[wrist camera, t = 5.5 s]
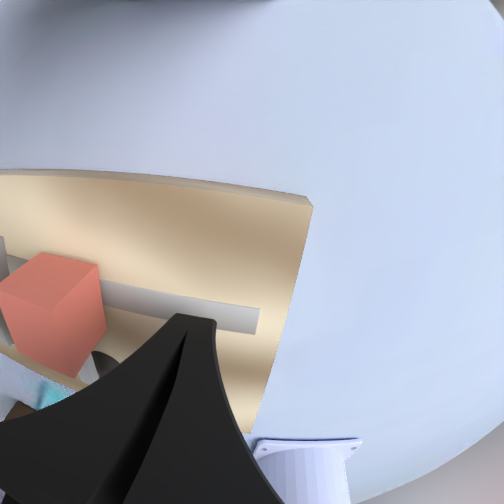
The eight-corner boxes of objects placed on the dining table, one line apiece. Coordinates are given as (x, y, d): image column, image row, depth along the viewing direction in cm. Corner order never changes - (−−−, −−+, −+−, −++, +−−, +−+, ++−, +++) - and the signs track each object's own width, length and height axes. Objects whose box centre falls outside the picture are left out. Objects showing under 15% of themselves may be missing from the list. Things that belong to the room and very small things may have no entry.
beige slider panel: (251, 413, 15) (247, 485, 10) (3, 336, 14) (-30, 374, 10) (306, 196, 10) (343, 251, 5) (-34, 171, 9) (-90, 193, 5)
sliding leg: (120, 385, 12) (99, 431, 9) (72, 368, 12) (48, 408, 9) (97, 264, 9) (51, 310, 6) (41, 251, 9) (-6, 287, 6)
